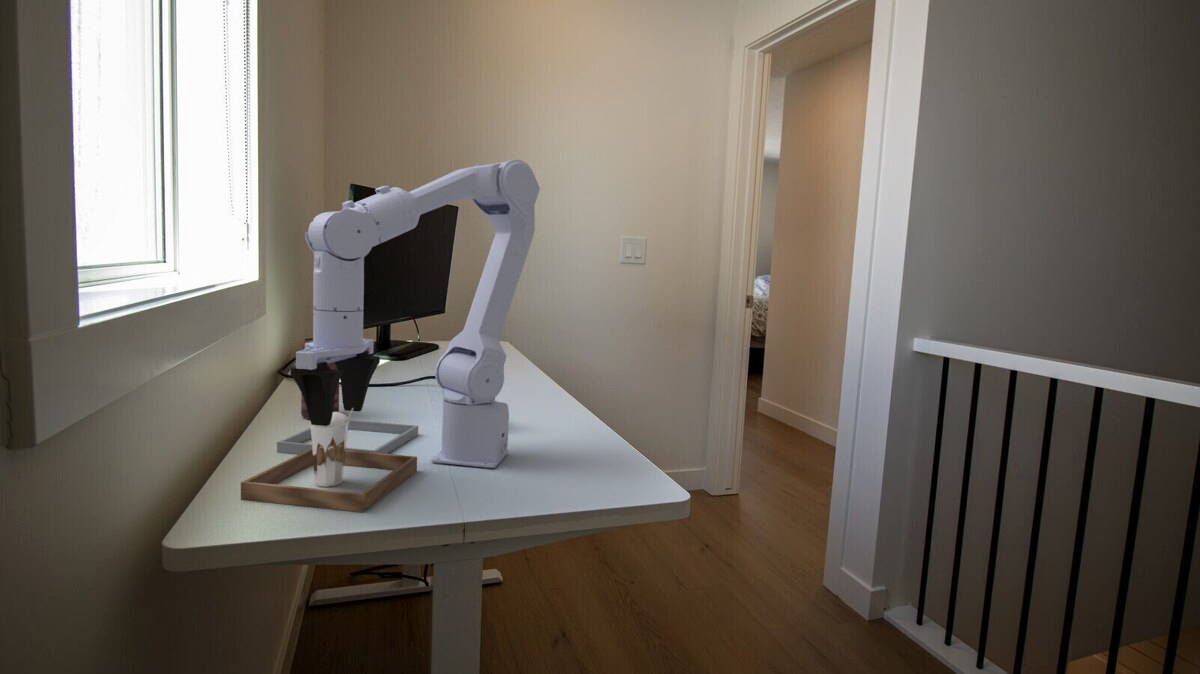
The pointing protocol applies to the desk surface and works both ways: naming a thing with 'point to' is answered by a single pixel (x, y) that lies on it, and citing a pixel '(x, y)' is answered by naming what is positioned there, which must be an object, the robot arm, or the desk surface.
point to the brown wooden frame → (268, 491)
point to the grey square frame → (405, 431)
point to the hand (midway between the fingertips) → (337, 417)
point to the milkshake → (330, 450)
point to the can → (336, 398)
